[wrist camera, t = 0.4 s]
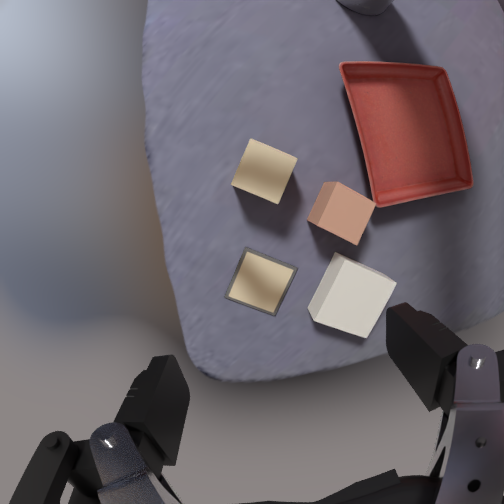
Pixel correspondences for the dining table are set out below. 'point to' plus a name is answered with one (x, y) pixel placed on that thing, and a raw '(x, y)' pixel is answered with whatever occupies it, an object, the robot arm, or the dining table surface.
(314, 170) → the dining table surface
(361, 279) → the base slab
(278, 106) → the dining table surface
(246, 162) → the maple cube
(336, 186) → the terracotta cube
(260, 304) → the tile
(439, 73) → the plant saucer
